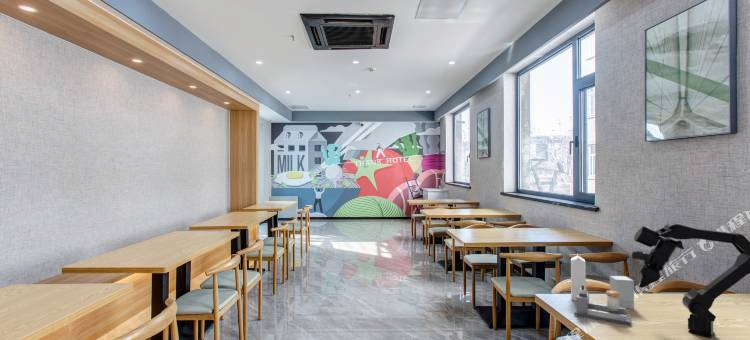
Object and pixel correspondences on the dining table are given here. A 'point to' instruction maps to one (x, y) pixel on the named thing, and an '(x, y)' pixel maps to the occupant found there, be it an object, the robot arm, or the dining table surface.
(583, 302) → the mount
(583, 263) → the milk
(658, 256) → the robot arm
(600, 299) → the dining table surface
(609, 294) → the knob
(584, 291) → the potentiometer
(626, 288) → the supplement box
